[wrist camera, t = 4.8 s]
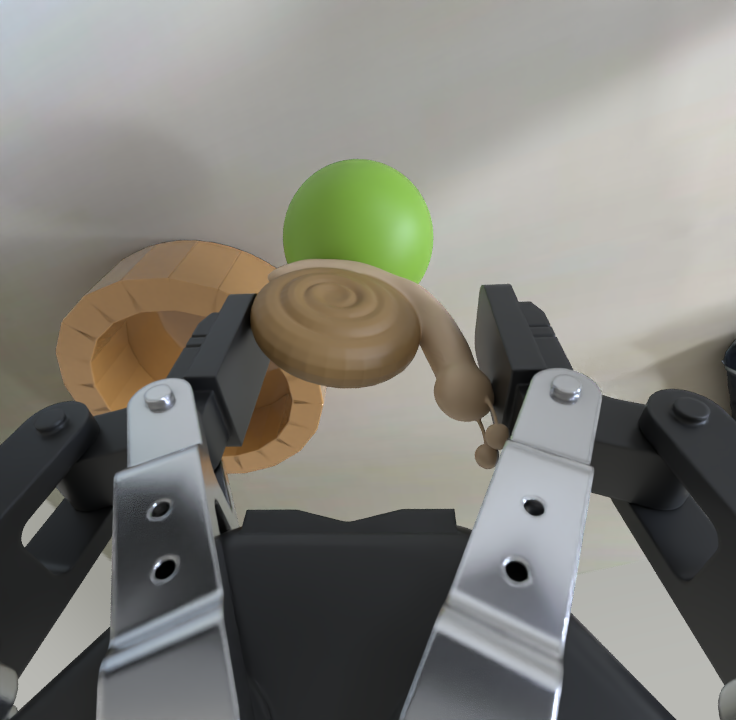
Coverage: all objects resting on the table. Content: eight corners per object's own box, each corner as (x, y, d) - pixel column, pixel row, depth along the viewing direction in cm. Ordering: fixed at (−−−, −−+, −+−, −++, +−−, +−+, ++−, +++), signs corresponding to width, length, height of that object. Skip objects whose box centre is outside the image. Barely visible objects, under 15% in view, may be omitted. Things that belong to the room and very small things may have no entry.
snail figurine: (432, 284, 20) (467, 526, 11) (292, 260, 20) (204, 491, 10) (468, 161, 17) (567, 360, 7) (301, 128, 16) (182, 296, 7)
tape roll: (53, 248, 24) (-3, 287, 21) (310, 231, 23) (297, 270, 20) (152, 427, 33) (125, 476, 30) (341, 421, 32) (336, 471, 29)
